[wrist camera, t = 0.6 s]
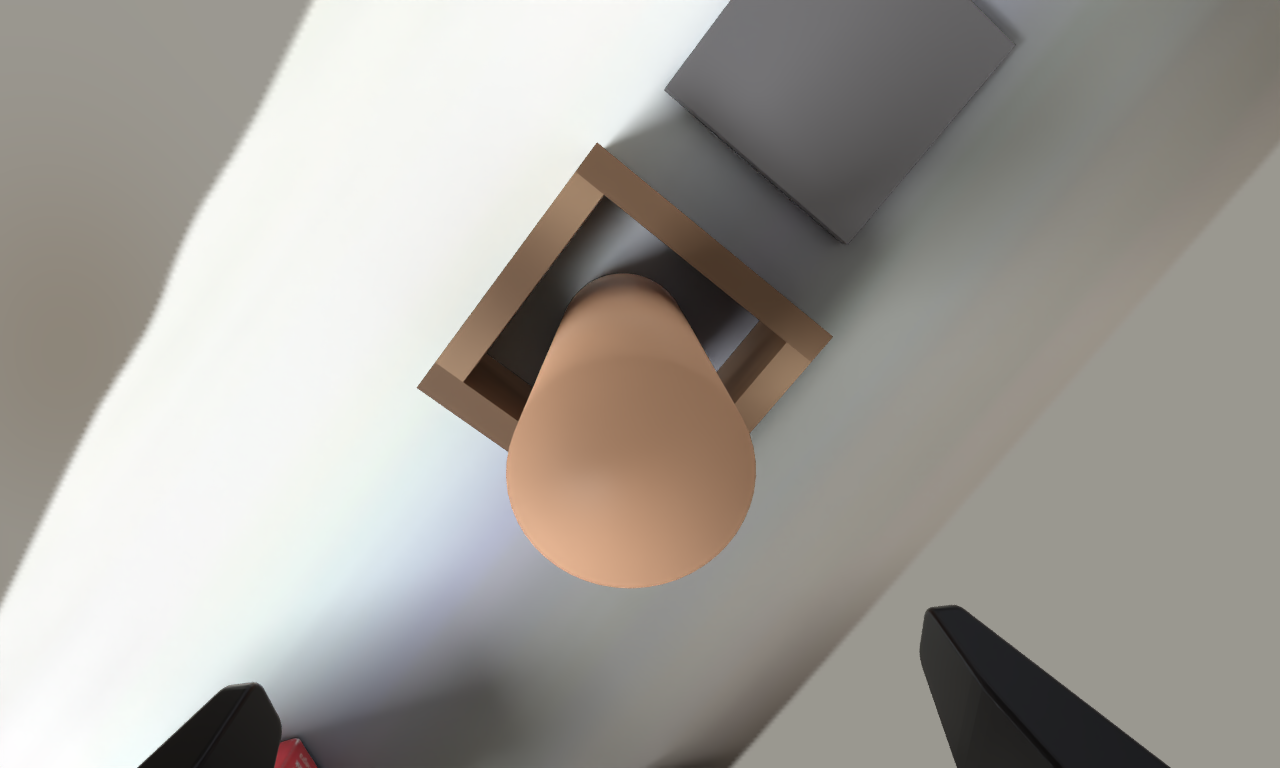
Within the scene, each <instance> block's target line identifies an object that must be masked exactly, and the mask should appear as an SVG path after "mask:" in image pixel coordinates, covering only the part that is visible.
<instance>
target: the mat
mask: <svg viewBox="0 0 1280 768" xmlns="http://www.w3.org/2000/svg"><path fill="white" fill-rule="evenodd" d="M1014 46H1015V44H1014V43H1013V42H1012V41H1011V40H1010V39H1009V38H1008V37H1007V36H1006V35H1005V34H1004V33H1003V32H1002V31H1001V30H1000V29H999V28H998V27H997V26H996V25H995V24H994V23H993V22H992V21H991V20H990V19H989V18H988V17H987V16H986V15H985V14H984V13H983V12H982V11H981V10H980V9H979V8H978V7H977V6H976V5H975V4H974V3H973V2H972V1H971V0H730V2H729V3H728V4H727V6H726V7H725V8H724V10H723V11H722V12H721V14H720V15H719V16H718V18H717V19H716V20H715V22H714V23H713V25H712V26H711V27H710V29H709V30H708V31H707V33H706V34H705V35H704V37H703V38H702V39H701V41H700V42H699V43H698V45H697V46H696V47H695V49H694V50H693V51H692V53H691V54H690V55H689V57H688V58H687V59H686V61H685V62H684V63H683V65H682V66H681V67H680V69H679V70H678V72H677V73H676V74H675V76H674V77H673V78H672V80H671V81H670V82H669V84H668V85H667V86H666V88H665V91H666V92H667V93H668V94H669V95H670V96H672V97H673V98H674V99H675V100H676V101H677V102H679V103H680V104H681V105H682V106H683V107H684V108H686V109H687V110H688V111H689V112H690V113H691V114H692V115H694V116H695V117H696V118H697V119H698V120H699V121H701V122H702V123H703V124H704V125H705V126H706V127H708V128H709V129H710V130H711V131H712V132H713V133H715V134H716V135H717V136H718V137H719V138H720V139H722V140H723V141H724V142H725V143H726V144H727V145H729V146H730V147H731V148H732V149H733V150H734V151H735V152H737V153H738V154H739V155H740V156H741V157H742V158H744V159H745V160H746V161H747V162H748V163H749V164H751V165H752V166H753V167H754V168H755V169H756V170H758V171H759V172H760V173H761V174H762V175H763V176H765V177H766V178H767V179H768V180H769V181H770V182H772V183H773V184H774V185H775V186H776V187H777V188H778V189H780V190H781V191H782V192H783V193H784V194H785V195H787V196H788V197H789V198H790V199H791V200H792V201H794V202H795V203H796V204H797V205H798V206H799V207H801V208H802V209H803V210H804V211H805V212H806V213H808V214H809V215H810V216H811V217H812V218H813V219H815V220H816V221H817V222H818V223H819V224H820V225H821V226H823V227H824V228H825V229H826V230H827V231H828V232H830V233H831V234H832V235H833V236H834V237H835V238H837V239H838V240H839V241H840V242H841V243H843V244H849V242H850V241H851V240H852V239H853V238H854V236H855V235H856V234H857V233H858V232H859V231H860V229H861V228H862V227H863V226H864V225H865V223H866V222H867V221H868V220H869V219H870V217H871V216H872V215H873V214H874V213H875V212H876V210H877V209H878V208H879V207H880V206H881V204H882V203H883V202H884V201H885V200H886V198H887V197H888V196H889V195H890V194H891V193H892V191H893V190H894V189H895V188H896V187H897V185H898V184H899V183H900V182H901V181H902V179H903V178H904V177H905V176H906V175H907V174H908V172H909V171H910V170H911V169H912V168H913V166H914V165H915V164H916V163H917V162H918V160H919V159H920V158H921V157H922V156H923V155H924V153H925V152H926V151H927V150H928V149H929V147H930V146H931V145H932V144H933V143H934V141H935V140H936V139H937V138H938V137H939V136H940V134H941V133H942V132H943V131H944V130H945V128H946V127H947V126H948V125H949V124H950V122H951V121H952V120H953V119H954V118H955V117H956V115H957V114H958V113H959V112H960V111H961V109H962V108H963V107H964V106H965V105H966V103H967V102H968V101H969V100H970V99H971V98H972V96H973V95H974V94H975V93H976V92H977V90H978V89H979V88H980V87H981V86H982V84H983V83H984V82H985V81H986V80H987V79H988V77H989V76H990V75H991V74H992V73H993V71H994V70H995V69H996V68H997V67H998V65H999V64H1000V63H1001V62H1002V61H1003V60H1004V58H1005V57H1006V56H1007V55H1008V54H1009V52H1010V51H1011V50H1012V49H1013V48H1014Z"/></svg>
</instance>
